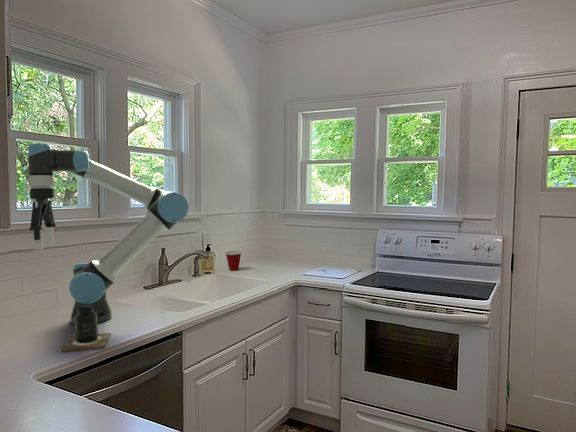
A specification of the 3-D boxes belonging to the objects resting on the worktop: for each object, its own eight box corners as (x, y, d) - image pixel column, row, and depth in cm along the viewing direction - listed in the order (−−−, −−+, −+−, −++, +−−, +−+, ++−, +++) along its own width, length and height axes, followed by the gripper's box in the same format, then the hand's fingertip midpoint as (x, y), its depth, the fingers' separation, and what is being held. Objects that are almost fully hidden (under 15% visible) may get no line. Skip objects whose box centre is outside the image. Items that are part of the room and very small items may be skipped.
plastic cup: (222, 271, 280) (221, 252, 279) (229, 268, 290) (229, 250, 290) (237, 272, 277) (237, 253, 276) (244, 269, 287) (244, 250, 286)
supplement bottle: (101, 336, 152) (99, 302, 151) (92, 343, 145) (91, 307, 144) (81, 336, 152) (79, 302, 151) (72, 343, 145) (70, 308, 144)
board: (71, 338, 154) (71, 335, 154) (110, 334, 157) (110, 332, 157) (61, 352, 140) (60, 349, 140) (104, 348, 143) (104, 345, 143)
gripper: (40, 188, 167) (43, 243, 168) (17, 187, 143) (20, 251, 144) (62, 188, 169) (64, 242, 170) (42, 187, 145) (45, 250, 146)
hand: (44, 247), depth 157 cm, fingers open, 13 cm apart
